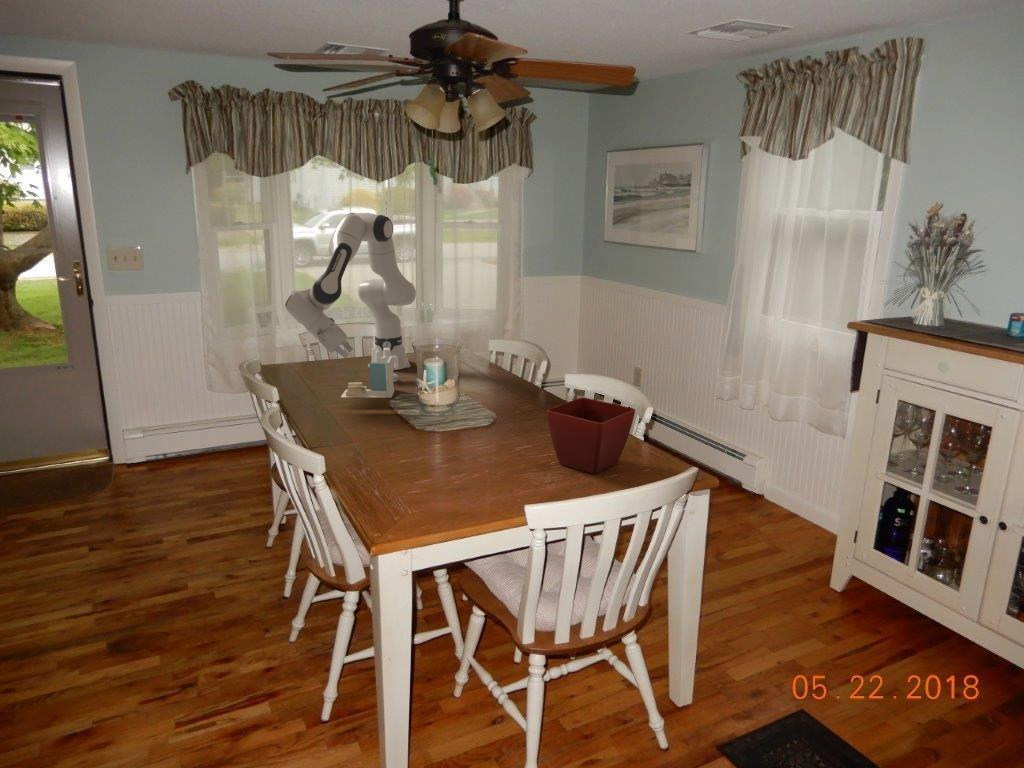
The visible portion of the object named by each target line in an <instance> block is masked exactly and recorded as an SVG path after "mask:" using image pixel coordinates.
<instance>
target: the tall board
mask: <svg viewBox="0 0 1024 768" xmlns="http://www.w3.org/2000/svg"><path fill="white" fill-rule="evenodd" d="M368 364H369V366H370V367H369V384H370V386H369V387H370V388H369V389H370V390H378V391H387V378H386V362H372V361H370V362H369V363H368Z"/></svg>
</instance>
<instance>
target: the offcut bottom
mask: <svg viewBox="0 0 1024 768" xmlns="http://www.w3.org/2000/svg"><path fill="white" fill-rule="evenodd" d="M367 389H368V388H367V385H362V391H351V392H348V388H347V390H346V389H345V390H346V396H364V394H365V392H366V391H367Z"/></svg>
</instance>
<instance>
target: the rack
mask: <svg viewBox="0 0 1024 768" xmlns="http://www.w3.org/2000/svg"><path fill="white" fill-rule="evenodd" d="M386 367H387V391H378V390H370V388H369V389H368V388H367V391H366V392H365V394H364V396H346V390H347V389H348V388H347V389H345V390H344V391H343V393H342V394H341V396H340V398H377V399H378V398H379V399H380V398H392V397H393V395H394V393H395V389H394V386H395V385H394V382H393V373H394V370H393V356H390V357H389V359H388V361H387V362H386Z"/></svg>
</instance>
